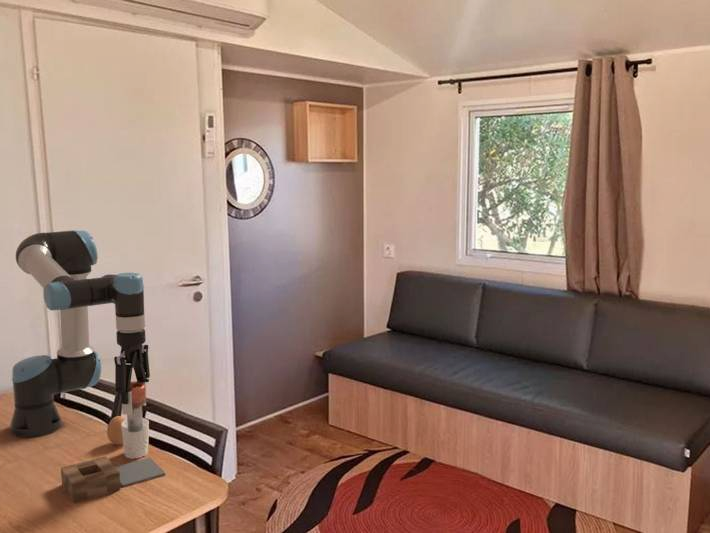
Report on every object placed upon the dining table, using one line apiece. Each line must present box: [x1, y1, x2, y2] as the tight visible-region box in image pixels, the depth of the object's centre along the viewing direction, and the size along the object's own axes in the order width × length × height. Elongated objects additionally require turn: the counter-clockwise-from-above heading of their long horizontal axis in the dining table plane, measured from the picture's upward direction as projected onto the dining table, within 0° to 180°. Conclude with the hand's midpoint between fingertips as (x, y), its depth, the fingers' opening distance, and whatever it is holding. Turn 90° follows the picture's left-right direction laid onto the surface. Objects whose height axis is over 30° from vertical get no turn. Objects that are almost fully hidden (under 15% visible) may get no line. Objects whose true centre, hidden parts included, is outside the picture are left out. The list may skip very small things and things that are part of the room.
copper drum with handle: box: [126, 380, 147, 432], centre depth 185 cm, size 6×6×14 cm
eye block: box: [60, 455, 121, 504], centre depth 180 cm, size 12×12×5 cm
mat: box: [115, 457, 166, 488], centre depth 189 cm, size 12×12×1 cm
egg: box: [106, 415, 126, 446], centre depth 206 cm, size 7×7×9 cm
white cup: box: [121, 417, 150, 459], centre depth 200 cm, size 8×8×10 cm
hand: (134, 409), depth 186 cm, fingers closed on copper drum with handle, 6 cm apart
